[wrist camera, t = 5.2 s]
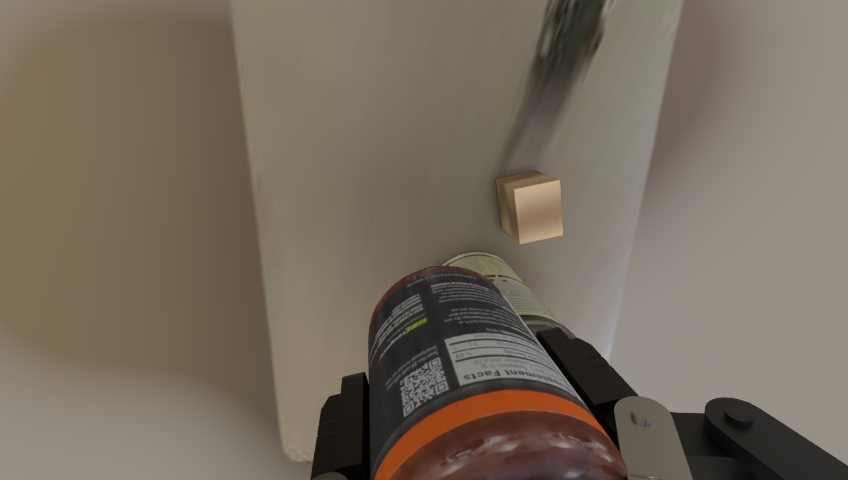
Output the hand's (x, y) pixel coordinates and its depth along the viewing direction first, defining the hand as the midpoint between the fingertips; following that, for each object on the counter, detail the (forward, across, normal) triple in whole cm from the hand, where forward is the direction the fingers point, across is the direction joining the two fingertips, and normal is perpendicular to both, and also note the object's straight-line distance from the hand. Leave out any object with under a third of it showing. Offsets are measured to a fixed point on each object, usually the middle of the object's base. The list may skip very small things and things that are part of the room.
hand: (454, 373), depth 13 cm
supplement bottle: (+3, 0, 0) cm, 3 cm away
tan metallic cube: (+25, -12, +2) cm, 28 cm away
